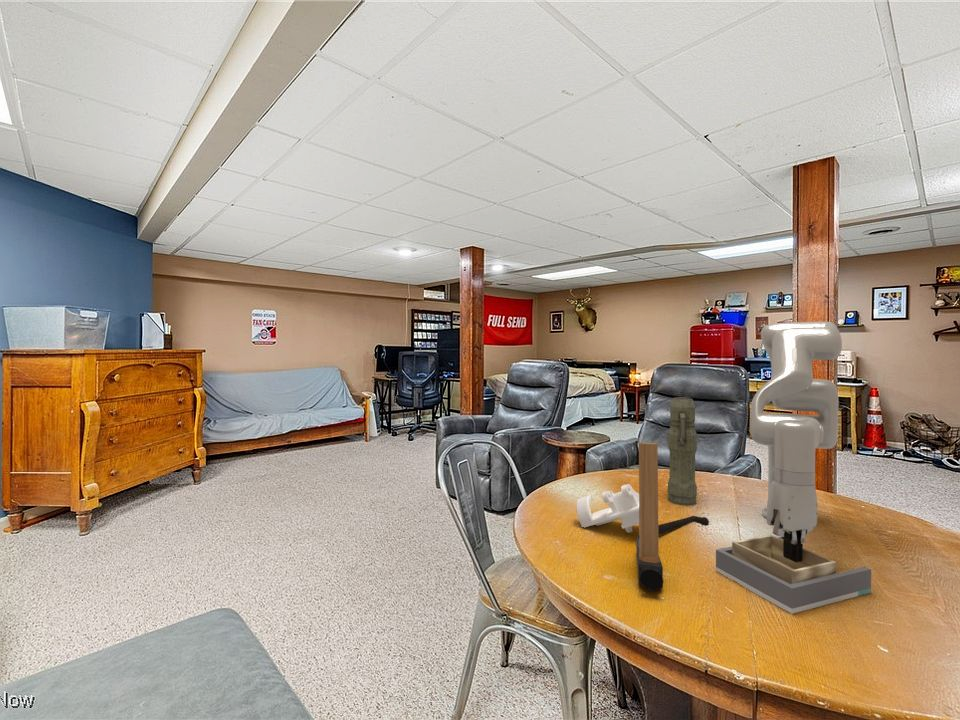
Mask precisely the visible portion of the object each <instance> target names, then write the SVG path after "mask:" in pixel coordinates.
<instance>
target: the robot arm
mask: <svg viewBox="0 0 960 720" xmlns="http://www.w3.org/2000/svg"><path fill="white" fill-rule="evenodd" d="M760 339H761V341H762V346H763V348H764V350H765V352H766V353H767V356H768V358H769V361H770V365H771V379H769V380H768V381H767V382H766V383H764V384H763V385H762V386H761V387H760V388H759V389H758V390H757V392H756V393H755V394H754V396H753V398H752V400H751V405H750V410H749V411H750V414H749V415H750V417H749V434H750V437H751V439H752V441H754V442H755V443H756V444H758V445H761V446H762V445H763V446H767V448H768V449H767V451H768V452H767V453H768V455H767V456H768V463H767V464H768V465H767V466H768V467H767V470H768V471H767V472H768V473H767V474H768V476H767V478H768V479H767V484H768V485H767V488H768V489H767V505H766V507H765V508H763V509H761V515H762V516H763V517H764V518H766V524H767V525H768V526H770V527H771V526H773V527H772V528H773V529H772V534H773V536H777V537H781V539H782V540H783V556H784V557H785V558H787V559H789V560H791V561H794V562H801V561H802V560H803V548H804V545H803V544H804V543H805V542H806V535H807V534H808V533H810V532H812V531H813V529H814V527H815V526H816V525H817V523H818V497H817V490H816V449H821V450H829V449H833V448H835V447H836V445H837V442H838V437H839V402H840V401H839V391H838V388H837V385H836V384H835V383H834V382H833V381H832V380H829V379H824V378H823V379H822V378H814V377H813V376H814V375H813V374H814V372H813V361H833V360H837V359H838V358H839V357H840V355H841V353H842V349H843V348H842V347H843V340H842V335H841V332H840V330H839V329H838V327H837V326H836V325H835V323H834V322H832V321H791V322H789V321H787V322H775V323H770V324H767V325H765V326H763V327H762V329H761V332H760ZM771 402H772V405H773V406H774V407H775V408H777V409H778V410H785V411H796V412H797V411H798V412H812V413H813V412H815V413H817V414H818V415H812V414H811V415H810V414H797V413H781V412H780V413H775V414H774V413H764V409H765V407H766V406H767V405H768V404H770V403H771Z"/></svg>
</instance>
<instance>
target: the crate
mask: <svg viewBox="0 0 960 720" xmlns="http://www.w3.org/2000/svg"><path fill="white" fill-rule="evenodd" d="M731 545H732V546H731V547H732V555H733V556H735V557H737V558H739V559H741V560H743V561H745V562H747V563H749V564H751V565H753V566H755V567H757V568H759V569H761V570H763V571H765V572H767V573H769V574H771V575H773V576H775V577H777V578H779V579H781V580H783V581H785V582H787V583H789V584H794V583H798V582H802V581H807V580H811V579H815V578H819V577H823V576H828V575H832V574H836V573H837V561H834V560H832V559H830V558H827V557H825V556H823V555H820V554H817V553H815V552H813V551H811V550H808V549H806V548H804V547H803V560H802V561H801V562H794V561H791V560H789V559H787V558H785V557H784V556H783V540H782V539H779V537H778V536H777V537H776V535H772V534H768V535H763V536H758V537H751V538H747V539H742V540H741V539H740V540H735V541H732V543H731Z"/></svg>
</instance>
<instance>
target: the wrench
mask: <svg viewBox="0 0 960 720" xmlns="http://www.w3.org/2000/svg"><path fill="white" fill-rule="evenodd" d="M693 522H694V523H699V524H700V525H703V526H708V525H709V524H710V520H709V519H708V518H707V517H705V516H702V517H701V516H697V515H691V516H688V517H684V518H681V519H676V520H672V521H669V522H665V523H661V524H658V537H659V536H662V535H664V534H667V533H669V532H671V531H673V530H676V529H678V528H681V527H683V526H685V525H688V524H691V523H693ZM636 539H639V533H638V534H637V538H636Z"/></svg>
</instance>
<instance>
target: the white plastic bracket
mask: <svg viewBox="0 0 960 720" xmlns="http://www.w3.org/2000/svg"><path fill="white" fill-rule="evenodd" d="M620 487H621V488H620V489H621V490H620V491H618V492H616V493H614V492H613V491H612V490H606V491H603V492H602V493H601V497H602V500H603V502H604V503H605V504H608V505H609V507H607V508H604V509H601V510H597V511H595V512H593V513H592V510H591V499H592V497H593V496H592V494H590V493H588V494H586V495H582V496H579V497H578V498H577V501H576V514H577V518H578V521H579V524H580V525H581V528H582V527H584V528H587V527H590V526H594V525H596V527H598V526H600V525H604V524H609V523H612V522H615V521H619V520H620V522H621V524H620V526H621V529H622V530H623V529H625V532H626V533H629V534H630V533H632V532H633V531H634V530H633V526H637V525H638V526H639V492H637V491H636V490H635V489H634V488H633V487H632V485H631V484H630V483H627V484H626V483H625V484H623V485H621V486H620ZM584 528H583V529H584Z"/></svg>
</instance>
